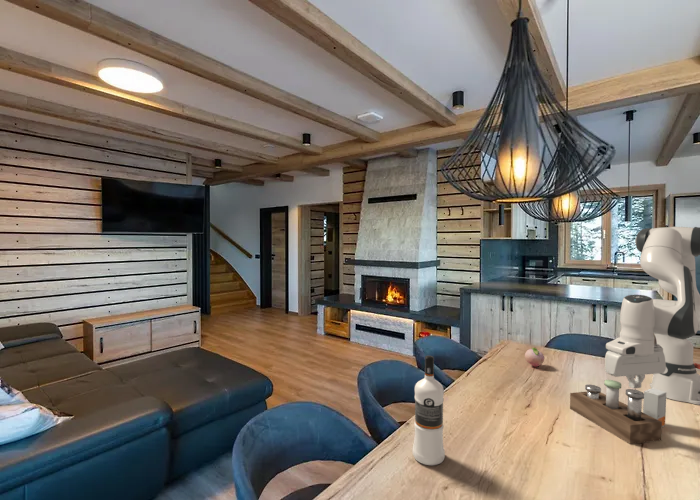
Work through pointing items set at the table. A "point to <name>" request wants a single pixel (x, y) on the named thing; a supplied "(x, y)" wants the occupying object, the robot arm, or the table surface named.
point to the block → (616, 419)
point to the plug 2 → (634, 404)
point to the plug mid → (612, 394)
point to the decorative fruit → (534, 357)
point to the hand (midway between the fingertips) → (635, 387)
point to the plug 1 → (593, 391)
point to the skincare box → (655, 404)
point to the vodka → (429, 418)
